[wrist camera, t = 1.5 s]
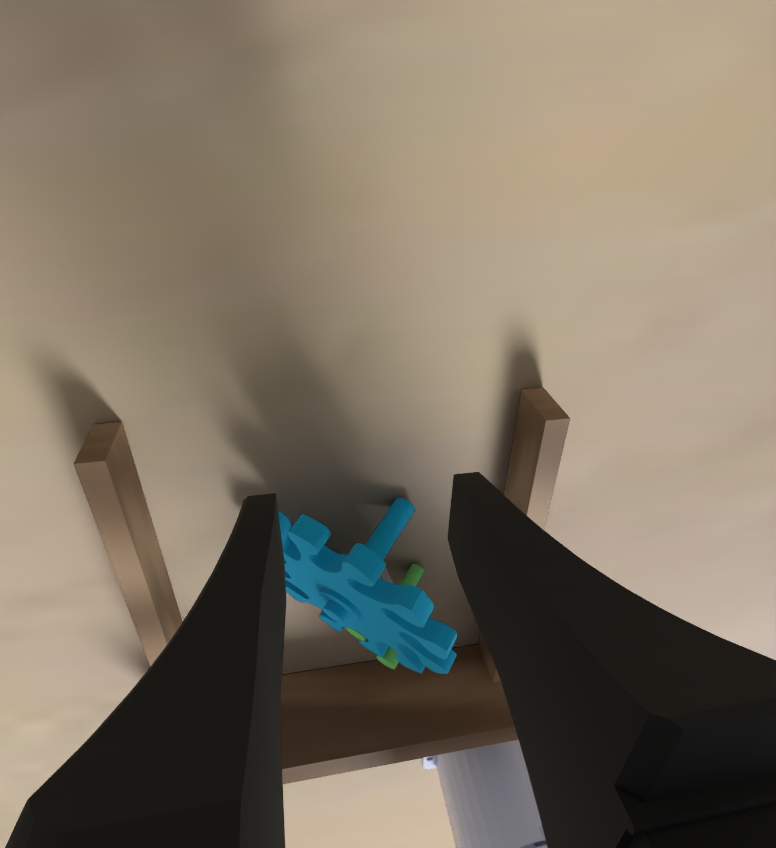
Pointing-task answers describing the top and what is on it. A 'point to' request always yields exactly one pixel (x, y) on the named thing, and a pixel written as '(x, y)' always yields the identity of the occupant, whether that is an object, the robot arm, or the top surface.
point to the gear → (367, 592)
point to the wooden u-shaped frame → (349, 684)
